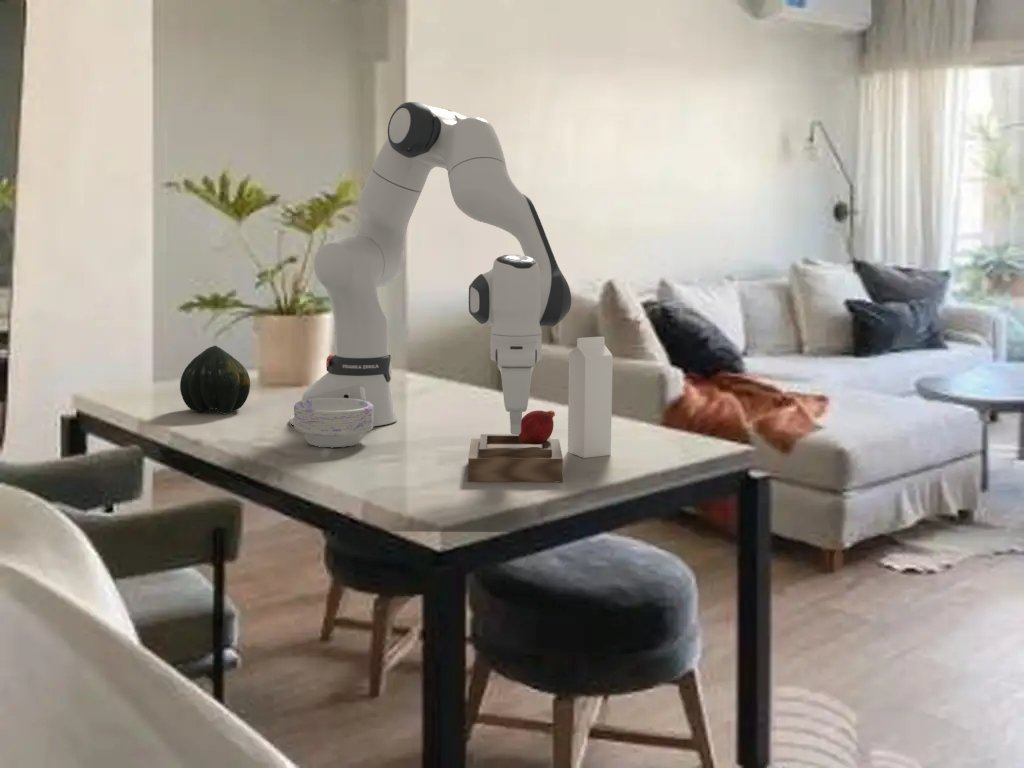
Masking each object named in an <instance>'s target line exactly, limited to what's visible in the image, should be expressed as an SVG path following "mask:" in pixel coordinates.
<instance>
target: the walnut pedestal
mask: <svg viewBox="0 0 1024 768" xmlns="http://www.w3.org/2000/svg"><path fill="white" fill-rule="evenodd" d="M468 451H469V452H468V457H467V461H468V463H467V464H468V465H467V466H468V467H467V468H468V469H467V470H468V471H467V472H468V473H467V475H468V476H467V477H468V479H467V480H468V482H482V483H483V482H488V483H489V482H492V483H493V482H494V483H495V482H500V483H501V482H505V483H506V482H507V483H509V482H510V483H511V482H513V483H515V482H516V483H517V482H519V483H520V482H521V483H523V482H524V483H526V482H527V483H529V482H530V483H531V482H532V483H533V482H534V483H539V482H541V483H549V482H550V483H563V480H564V479H563V478H564V477H563V475H564V472H563V471H564V469H563V468H564V457H563V453H562V447H561V444H560V439H559V438H551V436H550V437H549V438H548V439H547V441H545V442H544V443H542V444H538V445H533V444H522V443H521V442H520V441H519V434H511V433H510V434H503V433H501V434H496V433H495V434H493V433H492V434H491V433H490V434H486V433H485V434H484V433H483V434H482V433H481V434H480V438H471V439H470V444H469V450H468Z"/></svg>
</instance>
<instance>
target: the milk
mask: <svg viewBox="0 0 1024 768" xmlns="http://www.w3.org/2000/svg"><path fill="white" fill-rule="evenodd" d="M613 357H614V355H613V354H612V352H611V351H610V350H609V347H607V346H606V338H605V336H590V337H579V338H577V339H576V347H575V348H574V349H572V350H571V351H570V352H569V353H568V358H569V359H568V408H567V409H568V410H567V411H568V412H567V416H568V417H567V452H568V453H569V454H572V455H575V456H577V457H580V458H582V459H587V458H595V457H597V458H598V457H604V456H605V457H606V456H611V453H612V416H613V415H612V413H613V411H612V408H613V368H614V365H613V364H614V363H613V360H614V358H613Z"/></svg>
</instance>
